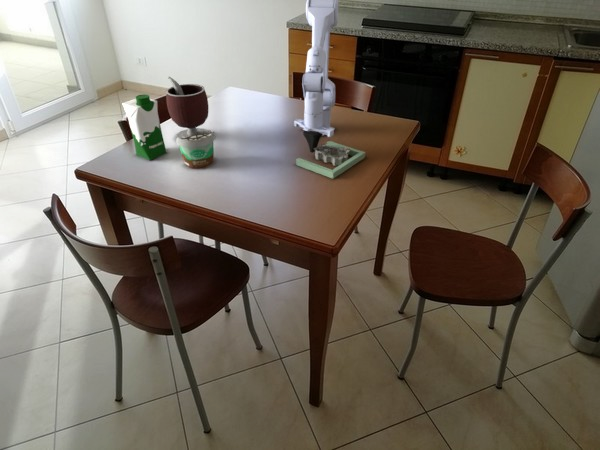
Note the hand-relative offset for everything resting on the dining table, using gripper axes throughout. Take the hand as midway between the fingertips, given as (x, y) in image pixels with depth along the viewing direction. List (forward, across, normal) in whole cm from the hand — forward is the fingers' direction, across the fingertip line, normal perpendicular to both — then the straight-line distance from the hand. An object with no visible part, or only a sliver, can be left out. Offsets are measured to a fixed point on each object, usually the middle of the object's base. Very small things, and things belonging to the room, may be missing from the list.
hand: (313, 151), depth 140 cm
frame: (+1, +6, 0) cm, 7 cm away
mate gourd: (+2, -44, -15) cm, 47 cm away
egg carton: (+2, +6, +1) cm, 7 cm away
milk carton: (+2, -43, -33) cm, 55 cm away
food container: (+2, -23, -28) cm, 37 cm away
